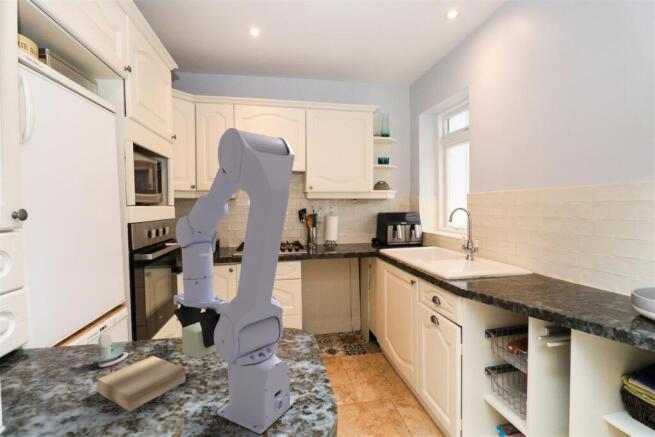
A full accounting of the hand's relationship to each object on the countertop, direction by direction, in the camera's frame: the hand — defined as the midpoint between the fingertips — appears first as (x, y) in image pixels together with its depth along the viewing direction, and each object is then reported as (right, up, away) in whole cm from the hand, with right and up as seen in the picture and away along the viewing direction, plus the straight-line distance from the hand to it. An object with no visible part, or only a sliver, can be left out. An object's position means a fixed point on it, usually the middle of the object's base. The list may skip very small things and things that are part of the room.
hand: (201, 343), depth 61 cm
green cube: (0, -2, 0) cm, 2 cm away
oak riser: (-9, -7, -5) cm, 12 cm away
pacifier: (-23, -7, +6) cm, 24 cm away
